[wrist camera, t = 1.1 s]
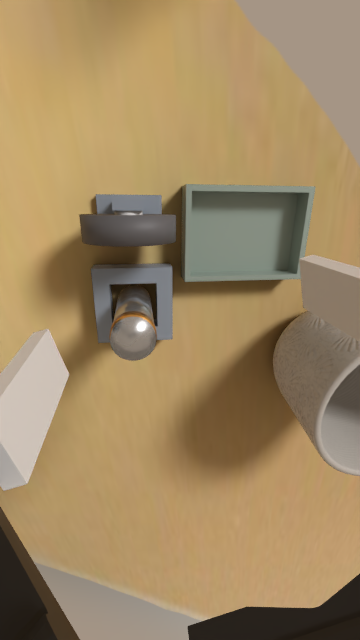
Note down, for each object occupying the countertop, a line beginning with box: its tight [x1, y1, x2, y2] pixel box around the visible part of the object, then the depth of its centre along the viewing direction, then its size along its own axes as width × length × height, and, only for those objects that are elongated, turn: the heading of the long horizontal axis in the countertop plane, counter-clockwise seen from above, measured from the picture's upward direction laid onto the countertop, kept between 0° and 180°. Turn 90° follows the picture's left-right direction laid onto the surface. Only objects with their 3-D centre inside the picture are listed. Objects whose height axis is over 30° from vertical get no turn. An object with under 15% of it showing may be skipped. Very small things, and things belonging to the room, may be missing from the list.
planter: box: [273, 311, 360, 476], centre depth 36 cm, size 17×17×15 cm
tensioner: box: [80, 194, 176, 343], centre depth 31 cm, size 9×17×10 cm, turn 0°
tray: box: [181, 184, 315, 282], centre depth 34 cm, size 14×10×3 cm
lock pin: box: [109, 284, 157, 360], centre depth 31 cm, size 4×4×12 cm
